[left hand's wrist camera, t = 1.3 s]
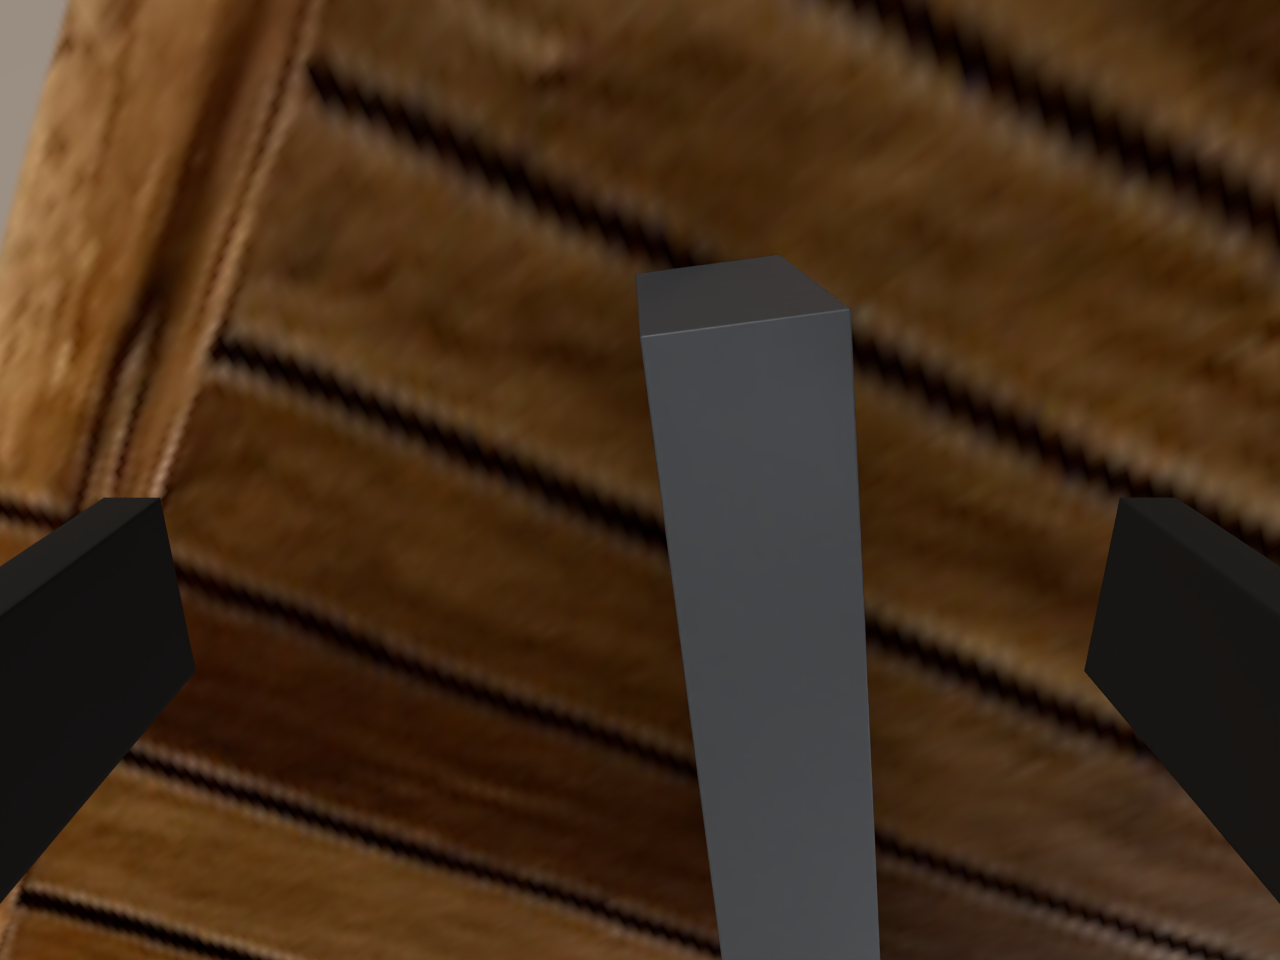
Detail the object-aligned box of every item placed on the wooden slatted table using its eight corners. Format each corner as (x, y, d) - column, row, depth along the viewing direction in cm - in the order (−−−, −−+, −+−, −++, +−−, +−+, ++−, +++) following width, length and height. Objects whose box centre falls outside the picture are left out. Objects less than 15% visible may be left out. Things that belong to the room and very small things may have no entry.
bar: (635, 273, 28) (639, 336, 19) (780, 254, 27) (850, 308, 19) (710, 848, 36) (737, 1076, 27) (822, 836, 36) (884, 1060, 27)
